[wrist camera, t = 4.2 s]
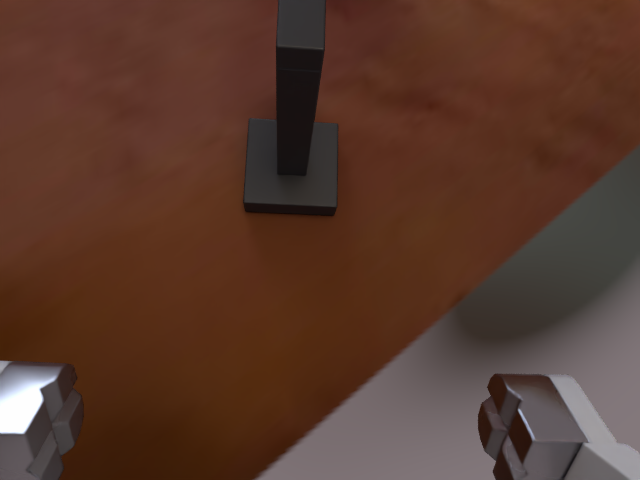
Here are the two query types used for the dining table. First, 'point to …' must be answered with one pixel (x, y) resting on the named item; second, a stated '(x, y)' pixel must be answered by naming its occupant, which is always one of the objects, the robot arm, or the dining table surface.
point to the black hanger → (294, 124)
